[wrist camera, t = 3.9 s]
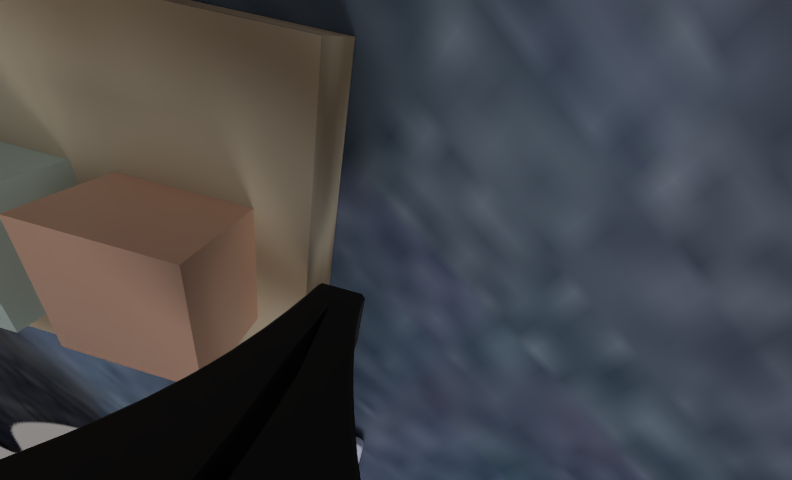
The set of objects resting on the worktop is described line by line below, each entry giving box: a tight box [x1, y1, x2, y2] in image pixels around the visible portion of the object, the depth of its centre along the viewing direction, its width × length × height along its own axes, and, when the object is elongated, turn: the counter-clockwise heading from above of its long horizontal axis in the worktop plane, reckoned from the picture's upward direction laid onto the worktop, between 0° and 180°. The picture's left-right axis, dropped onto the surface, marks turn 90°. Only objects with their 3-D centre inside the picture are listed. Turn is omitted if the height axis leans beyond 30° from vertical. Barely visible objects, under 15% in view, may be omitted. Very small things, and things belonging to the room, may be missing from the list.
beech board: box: [0, 0, 355, 347], centre depth 13 cm, size 14×14×2 cm
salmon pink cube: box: [0, 172, 258, 382], centre depth 10 cm, size 4×4×3 cm
